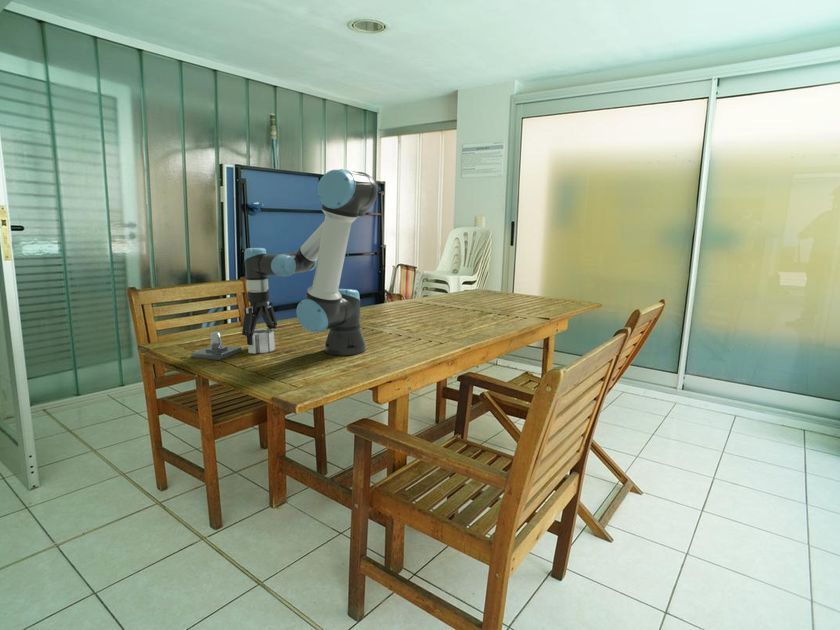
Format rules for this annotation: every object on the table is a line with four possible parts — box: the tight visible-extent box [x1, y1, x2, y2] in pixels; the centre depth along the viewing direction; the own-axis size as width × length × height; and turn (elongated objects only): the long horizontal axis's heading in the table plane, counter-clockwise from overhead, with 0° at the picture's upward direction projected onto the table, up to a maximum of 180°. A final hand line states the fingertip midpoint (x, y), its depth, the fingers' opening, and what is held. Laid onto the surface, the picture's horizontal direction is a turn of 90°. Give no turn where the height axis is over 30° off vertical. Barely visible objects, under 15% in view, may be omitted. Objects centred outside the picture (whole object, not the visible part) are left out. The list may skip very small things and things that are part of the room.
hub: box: [250, 328, 276, 354], centre depth 184 cm, size 9×9×7 cm
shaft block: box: [190, 331, 243, 361], centre depth 178 cm, size 12×12×8 cm
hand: (261, 349), depth 185 cm, fingers open, 11 cm apart
